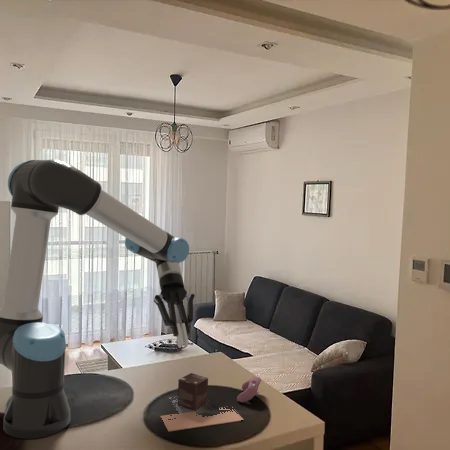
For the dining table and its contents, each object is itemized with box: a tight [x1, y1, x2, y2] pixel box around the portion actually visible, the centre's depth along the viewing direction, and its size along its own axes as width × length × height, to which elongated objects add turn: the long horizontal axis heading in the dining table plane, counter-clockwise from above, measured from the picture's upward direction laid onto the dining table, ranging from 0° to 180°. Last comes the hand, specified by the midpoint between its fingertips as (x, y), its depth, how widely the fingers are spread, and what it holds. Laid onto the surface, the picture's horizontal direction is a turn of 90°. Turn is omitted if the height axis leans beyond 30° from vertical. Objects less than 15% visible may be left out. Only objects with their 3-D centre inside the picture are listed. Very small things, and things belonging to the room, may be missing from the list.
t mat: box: [159, 396, 244, 433], centre depth 125 cm, size 18×20×1 cm
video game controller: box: [236, 375, 262, 403], centre depth 134 cm, size 10×5×7 cm, turn 169°
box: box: [177, 372, 209, 411], centre depth 127 cm, size 6×6×7 cm
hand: (183, 345), depth 136 cm, fingers closed
